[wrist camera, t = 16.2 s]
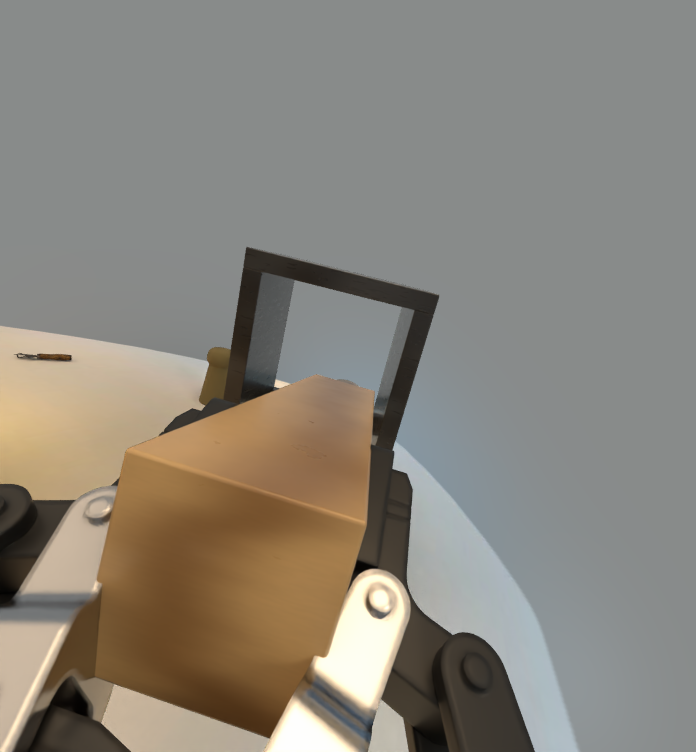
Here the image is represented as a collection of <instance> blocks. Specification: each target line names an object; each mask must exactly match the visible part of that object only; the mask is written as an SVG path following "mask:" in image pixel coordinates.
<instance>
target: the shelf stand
mask: <svg viewBox="0 0 696 752" xmlns="http://www.w3.org/2000/svg"><path fill="white" fill-rule="evenodd" d="M294 280H297V281H301V282H305V283H309V284H313V285H317V286H321V287H325V288H329V289H333V290H337V291H341V292H345V293H349V294H353V295H356V296H360V297H364V298H368V299H373V300H376V301H381V302H385V303H388V304H393V305H397V306H401V307H402V309H401V313H400V316H399V320H398V323H397V327H396V330H395V334H394V338H393V341H392V345H391V349H390V352H389V356H388V359H387V363H386V366H385V370H384V374H383V377H382V381H381V384H380V388H379V392H378V395H377V399H376V402H375V406H374V412H373V429H372V445H375V446H379V447H382V448H385V449H389V450H393V446H394V443H395V440H396V437H397V433H398V430H399V427H400V423H401V420H402V417H403V414H404V410H405V407H406V403H407V400H408V397H409V394H410V391H411V387H412V384H413V381H414V378H415V374H416V371H417V368H418V364H419V361H420V358H421V354H422V351H423V348H424V345H425V341H426V338H427V335H428V331H429V328H430V325H431V322H432V318H433V314H434V312H435V309H436V306H437V302H438V299H439V295H437V294H434V293H430V292H428V291H424V290H421V289H418V288H414V287H410V286H406V285H402V284H398V283H394V282H389V281H386V280H382V279H378V278H374V277H370V276H366V275H362V274H358V273H354V272H350V271H346V270H342V269H338V268H334V267H330V266H326V265H322V264H318V263H314V262H310V261H306V260H302V259H298V258H294V257H290V256H286V255H282V254H277V253H272V252H267V251H263V250H258V249H253V248H249V247H247V248H246V253H245V260H244V268H243V273H242V280H241V286H240V293H239V299H238V306H237V312H236V319H235V325H234V332H233V338H232V345H231V352H230V358H229V365H228V371H227V378H226V384H225V391H224V397H223V400H226V401H229V402H233V403H236V404H238V405H239V404H242V403H245V402H247V401H250V400H252V399H255V398H257V397H260V396H262V395H265V394H268V393H270V392H273V391H275V390H278V389H280V388H276V387H274V384H275V378H276V373H277V368H278V363H279V358H280V353H281V347H282V342H283V337H284V332H285V327H286V321H287V316H288V311H289V306H290V301H291V295H292V290H293V285H294Z"/></svg>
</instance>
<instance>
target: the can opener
mask: <svg viewBox="0 0 696 752" xmlns="http://www.w3.org/2000/svg"><path fill="white" fill-rule="evenodd" d="M14 355H17V357H18V355H25V356H26V357H37V358H39V359H55V360H71V355H64V354H37V356H36V355H28V354H22V353H18V354H14ZM25 356H23V357H25ZM18 358H22V357H18Z"/></svg>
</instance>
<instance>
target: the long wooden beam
mask: <svg viewBox="0 0 696 752" xmlns="http://www.w3.org/2000/svg"><path fill="white" fill-rule="evenodd" d="M374 395H375V392H374V391H372V390H368V389H365V388H362V387H359V386H358V385H356V384H355V383H353V382H351V381H348V380H334V379H331V378H327V377H324V376H320V375H317V374H316V375H313V376H311V377H308V378H306V379H303V380H301V381H298V382H296V383H293V384H290V385H288V386H285V387H283V388H280V389H278V390H275V391H273V392H270V393H268V394H265V395H262V396H260V397H257V398H255V399H252V400H250V401H247V402H245V403H242V404H239V405H237V406H235V407H232V408H229V409H227V410H224V411H222V412H219V413H217V414H214V415H211V416H209V417H206V418H204V419H201V420H199V421H196V422H194V423H191V424H189V425H186V426H183V427H181V428H178V429H176V430H173V431H171V432H168V433H166V434H163V435H161V436H158V437H155V438H153V439H150V440H148V441H145V442H143V443H140V444H138V445H135V446H133V447H130V448H128V449H127V451H126V452H125V457H124V461H123V465H122V470H121V474H120V478H119V483H118V487H117V491H116V496H115V500H114V504H113V509H112V513H111V517H110V522H109V526H108V530H107V535H106V539H105V543H104V548H103V552H102V556H101V561H100V565H99V569H98V574H97V578H96V580H97V582H98V583H101V584H102V596H101V608H100V618H99V632H98V644H97V656H96V668H95V677H96V678H99V679H101V680H104V681H107V682H110V683H113V684H116V685H118V686H121V687H124V688H127V689H130V690H133V691H136V692H138V693H141V694H144V695H147V696H150V697H153V698H156V699H158V700H161V701H164V702H167V703H170V704H173V705H175V706H178V707H181V708H184V709H187V710H190V711H193V712H195V713H198V714H201V715H204V716H207V717H210V718H212V719H215V720H218V721H221V722H224V723H227V724H230V725H232V726H235V727H238V728H241V729H244V730H247V731H250V732H252V733H255V734H258V735H261V736H264V737H267V738H269V739H270V738H271V736H272V734H273V732H274V730H275V728H276V726H277V724H278V722H279V720H280V718H281V717H282V715H283V713H284V711H285V709H286V707H287V705H288V703H289V701H290V699H291V697H292V696H293V694H294V692H295V690H296V688H297V686H298V685H299V683H300V681H301V679H302V678H303V676H304V675H305V673H306V671H307V669H308V667H309V666H310V664H311V662H312V660H313V658H314V656H318V657H321V658H325V657H327V655H328V654H329V651H330V648H331V644H332V641H333V638H334V634H335V631H336V627H337V624H338V621H339V617H340V614H341V611H342V607H343V604H344V601H345V597H346V594H347V591H348V587H349V584H350V581H351V577H352V574H353V570H354V567H355V564H356V560H357V557H358V554H359V550H360V547H361V544H362V540H363V537H364V534H365V530H366V527H367V515H368V498H369V481H370V463H371V444H372V429H373V412H374Z"/></svg>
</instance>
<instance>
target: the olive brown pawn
mask: <svg viewBox="0 0 696 752" xmlns="http://www.w3.org/2000/svg"><path fill="white" fill-rule="evenodd" d="M230 352H231V350H230V349H226V348H221V347H215V348H212V349H210V350H209V352H208V354H207V361H208V362H209V367H208V370H207V374H206V377H205V381H204V384H203V388H202V391H201V395H200V398H199V401H200V402H201V403H202V404H204V405H207V404H208V402H209V401H210V400H211V399H212V398H214V397H216V398H219V399H223V397H224V391H225V384H226V378H227V371H228V365H229V358H230Z"/></svg>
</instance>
